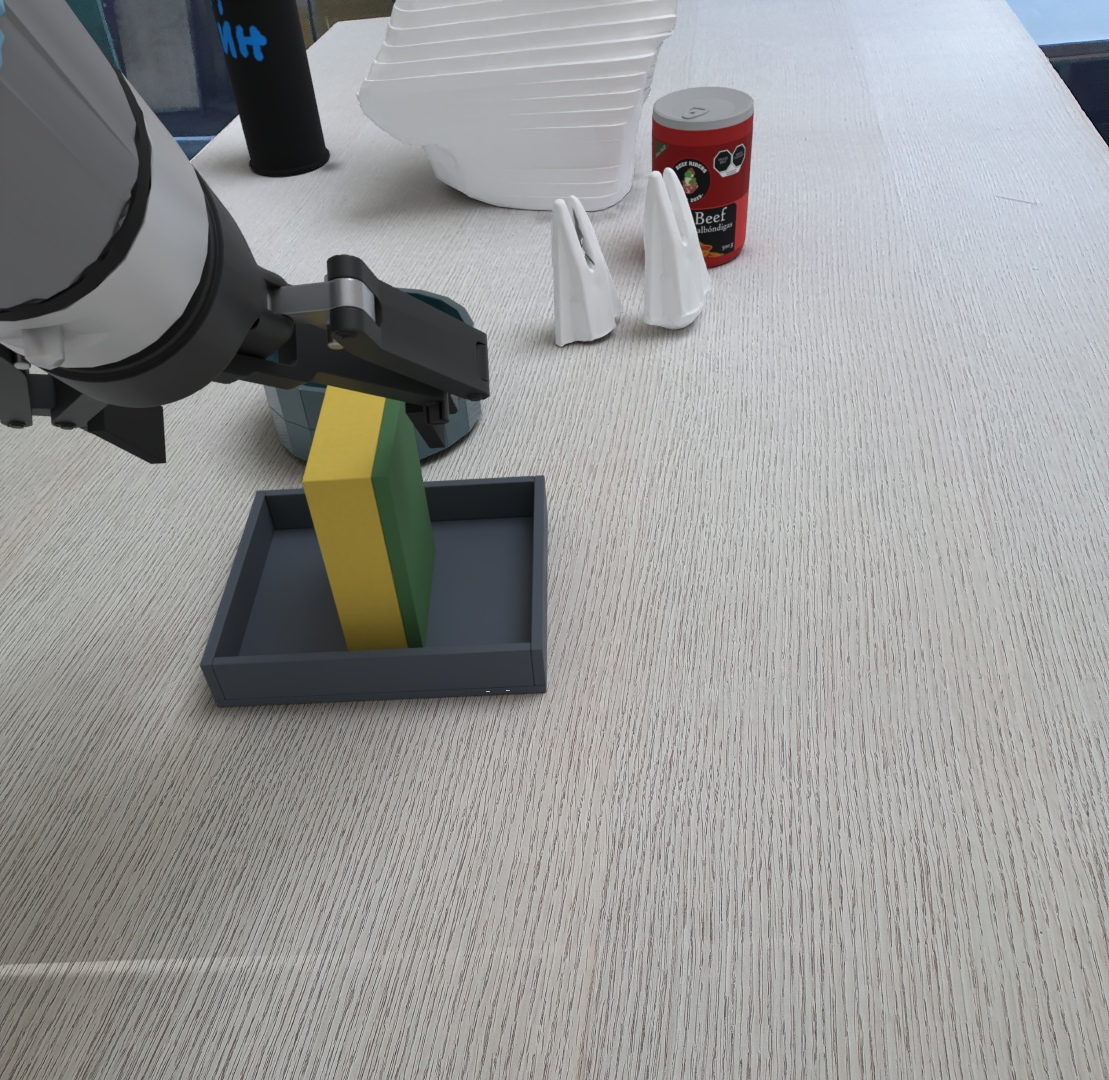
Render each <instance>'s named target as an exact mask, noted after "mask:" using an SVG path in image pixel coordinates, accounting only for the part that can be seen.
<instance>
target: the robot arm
mask: <svg viewBox="0 0 1109 1080" xmlns="http://www.w3.org/2000/svg"><path fill="white" fill-rule="evenodd" d="M397 288H398V287H397ZM397 288H395V286H393V285H391V284H389V283H387V282H385V281H383V280H381V279H379V278H378V277H377V276H376V274H375V273H374V272H373V271H372V270H371V269H370V267H369V266H368V265H367V264H366V263H365V261H364V260H363V259H362V258H360V257H359V256H356V255H352V254H347V253H344V254H343V253H342V254H335V255H332V256H330V257H328V258H327V260H326V274H325V275H324V276H323V281H320V282H319V281H318V282H311V283H303V284H302V283H301V284H291V283H288V282H287V281H286V280H285V279H284V277H282V276H281V275H280V274H278V273H276V272H274V271H272V270H269V269H267V268H265V267H262V266H261V265H259V264H258V263H257V261H256V259H255V257H254V255H253V252H252V249H251V248H250V246H249V244H248V242H247V240H246V238H245V236H244V234H243V232H242V231H241V228H240V227H239V225H238V223H237V222H236V220H235V218H234V217H233V216H232V214H231V212H229V210H228V209H227V208H226V206H225V205H224V203H223V202H222V201H221V200H220V198H219V197H218V196H217V194H216V193H215V192H214V191H213V189H212V188H211V187H210V185H209V184H208V183H207V181H206V180H205V179H204V177H203V176H202V175H201V173H200V172H199V171H198V170H197V168H196V167H195V166H194V165H193V164H192V162H191V161H190V159H189V158H188V156H187V155H186V154H185V152H184V151H183V149H182V148H181V145H179V142H178V141H177V140H176V139H175V138H174V136H173V135H172V133H170V131H169V130H168V129H167V128H166V126H165V125H164V123H162V121H161V120H160V119H159V117H158V116H157V115H156V114H155V113H154V111H153V109H151V107H150V106H149V105H148V103H146V101H145V100H144V98H142V96H141V95H140V94H139V92H138V90H137V89H136V88H135V87H134V86H133V85H132V83H131V82H130V81H129V79H128V78H127V77H126V76H125V74H124V73H123V72H122V70H121V69H119V68H118V67H117V66H116V65H115V64H114V63H113V61H112V60H111V59H110V57H109V56H108V55H107V53H106V52H105V51H104V50H103V49H102V48H101V47H100V45H99V44H98V43H97V42H96V41H95V40H94V39H93V37H92V36H91V35H90V33H89V32H88V30H87V29H86V28H85V26H84V25H83V23H82V22H81V21H80V19H79V18H78V16H77V15H76V14H75V12H74V11H73V10H72V8H71V7H70V5H69V4H68V3H67V1H66V0H0V424H1V425H3V426H5V427H7V428H11V429H14V430H21V429H22V430H23V429H24V428H29V427H33V425H34V421H33V420H34V419H33V417H35V416H36V417H49V418H50V425H51V426H52V427H55V428H59V429H61V430H65V431H71V430H74V429H80V430H83V431H84V432H86V433H88V434H92V435H94V436H96V437H98V438H99V439H101V440H104V441H105V442H108V444H109V443H110V444H111V445H113V446H115V447H117V448H119V449H121V450H122V451H125V452H126V453H128V454H131V455H132V456H134V457H137V458H138V459H140V460H142V461H144V462H146V463H148V464H150V465H159V464H160V465H161V464H167V450H166V449H167V448H166V434H165V433H166V432H165V417H164V406H166V405H169V404H172V403H176V402H179V401H181V400H183V399H186V398H188V397H190V396H193V395H194V394H196V393H197V392H199V391H201V390H202V389H204V388H205V387H207V386H208V385H209V384H211V383H212V382H213V383H217V384H222V385H230V384H233V383H235V382H238V381H243V382H247V383H251V384H257V385H261V386H264V385H266V386H271V387H275V388H280V389H285V390H291V389H293V388H296V387H298V386H301V385H303V384H306V383H308V382H315V383H319V384H324V385H329V386H333V387H338V388H342V389H347V390H352V391H356V392H361V393H365V394H370V395H375V396H379V397H384V398H388V399H393V400H397V401H402V402H405V412H406V414H407V416H408V417H409V419H410V420H411V422H412V423H413V425H414V426H415V428H416V429H417V430H418V432H419V433H420V435H421V436H422V438H423V439H424V441H425V442H426V444H427V445H428V446H429V448H445V430H444V424H446V423H449V414H456V413H457V412H458V397H460V398H463V399H467V400H470V401H480V400H483V401H485V400H487V399H488V398H489V397H490V396H491V391H490V390H491V389H490V366H489V363H490V362H489V347H488V334H487V333H485V332H484V331H482V330H480V329H478V328H476V327H475V326H474V327H475V328H474V327H472V326H470V325H468V324H466V323H464V322H462V321H460V320H458V319H456V318H454V317H452V316H450V315H448V314H446V313H444V312H442V311H440V310H438V309H436V308H434V307H432V306H430V305H429V304H427V303H425V302H423V301H421V300H419V299H417V298H415V297H413V296H411V295H409V294H407V293H405V292H403V291H401V290H399V289H397ZM276 350H278V362H274V361H269V360H266V359H267V358H268V357H269V356H271V355H272V354H273V353H274V352H275V351H276ZM32 366H35V367H37V368H38V369H40V370H42V371H43V372H45V373H30V369H31V367H32ZM457 396H458V397H457Z"/></svg>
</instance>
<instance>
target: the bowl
mask: <svg viewBox="0 0 1109 1080" xmlns="http://www.w3.org/2000/svg"><path fill="white" fill-rule="evenodd" d="M394 287H395V286H394ZM395 288H397V289H399V290H401V291H403V292H405V293H407V294H409V295H411V296H413V297H415V298H417V299H419V300H421V301H423V302H425V303H427V304H429V305H430V306H432V307H434V308H436V309H438V310H440V311H442V312H444V313H446V314H448V315H450V316H452V317H454V318H456V319H458V320H460V321H462V322H464V323H466V324H468V325H470V326H472V327H474V328H476V326H475V322H474V320H473V318H472V317H471V315H470V313H469V312H468V311H467V308H466V307H464V306H463V305H461V304H460V303H458V302H457V301H455V300H454V299H451V298H450V297H449V296H445V295H442V294H440V293H439V294H438V293H435V292H432V291H429V290H424V289H418V288H409V287H408V288H407V287H398V286H397V287H395ZM266 360H269V361H274V362H278V350H276V351H275V352H274V353H273V354H272V355H271V356H269V357H268V358H267V359H266ZM326 388H327V385H324V384H319V383H315V382H308V383H306V384H303V385H301V386H298V387H296V388H293V389H291V390H285V389H280V388H275V387H271V386H266V385H263V389H264V393H265V396H266V399H267V403H268V407H269V410H270V415H271V417H272V420H273V424H274V427H275V431H276V435H277V439H278V441H279V444H281V445H282V446H283V447H284V448H286V450H288V451H289V452H290V453H291V454H292V455H293V456H294V457H296V458H297V459H300V460H303V461H305V462H307V461H308V457H309V453H310V449H311V446H312V442H313V438H314V434H315V430H316V427H317V423H318V419H319V415H320V411H321V407H322V404H323V400H324V396H325V392H326ZM457 397H458V396H457ZM483 401H484V400H480V401H470V400H467V399H463V398H460V397H458V412H457V413H456V414H449V423H446V424H444V430H445V448H429V446H428V445H427V444H426V442H425V441H424V439H423V438H422V436H421V435H420V433H419V432H418V430H417V429H416V428H415V426H414V425H413V427H414V432H415V438H416V443H417V449H418V455H419V460H420V461H421V460H423V459H425V458H427V457H430V456H432V455H434V454H437V453H439V452H441V451H444V450H446V449H448V448H450V447H451V446H452V445H453V444H456V442H457V441H458V442H459V440H460V439H462V438H463V437H464V436H466V435H467V434H468V433H469V432H471V430H472V429H473V428H474V426H475V425H476V423H477V422H478V421H479V419H480V417H481V416H482V413H483V404H484V403H483Z"/></svg>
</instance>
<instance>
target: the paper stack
mask: <svg viewBox="0 0 1109 1080" xmlns="http://www.w3.org/2000/svg"><path fill="white" fill-rule="evenodd" d="M677 13H678V0H395V2H394V3H393V6H392V10H391V14H390V19H389V20H388V22H387V27H386V31H385V35H384V36H385V37H384V39H383V40H382V44H381V46H380V48H379V50H378V53H377V54H376V57H375V58H374V59H373V60H372V62H371V65H370V68H369V70H368V71H369V72H368V74H367V75H366V77H364V79H363V81H362V83H361V85H360V88H359V91H357V92H356V93H355V96H356V99H357V101H358V105H359V107H360V109H361V111H362V114H363V115H364V116H365V117H366V118H368V119H369V120H370V121H371V122H372V123H373V125H375V126H376V127H378V128H379V129H380V130H381V131H383V132H384V133H386V134H387V135H389V136H390V137H392V138H393V139H395V140H397V141H399V142H401V143H402V144H404V145H409V146H414V147H422V150H423V151H424V153H425V156H426V157H427V158H428V159H429V163H430V166H431V169H432V172H433V174H434V175H435V178H436V179H437V180H439V181H440V182H442V183H443V184H446V185H447V186H449V187H451V188H453V189H454V190H456V191H459V192H461V193H463V194H464V195H465V196H467V197H469V198H471V199H474V200H477V201H480V202H482V203H484V204H488V205H491V206H496V207H499V208H500V207H501V208H509V209H519V210H530V211H531V210H533V211H553V205H554V202H555V201H556V200H557V199H562V200H564V202H565V204H566V206H567V208H568V199H569V197H570V196H571V195H572V196H575V197H577V198H578V199H579V201H580V202H581V204H582V206H583V208H584V209H585V211H586V212H596V211H603V210H606V209H608V208H610V207H613V206H615V205H616V204H618V203H619V202H621V200H622V199H624V198H625V196H626V195H628V194H629V192H630V191H631V188H632V186H633V182H634V176H635V175H634V174H635V164H636V163H635V162H636V145H637V136H638V132H639V131H638V130H639V124H640V121H641V117H642V113H643V109H644V106H645V103H646V102H647V100H648V99H649V97H650V95H651V94H652V93H651V91H652V89H653V88H652V84H653V81H654V74H655V71H656V65H657V61H658V56H659V53H660V51H661V48H662V46H663V44H664V41H666V40H667V39H669V38H670V37H672V35H674V33H673V31H674V30H675V28H676V24H677V17H678V16H677V15H675V14H677Z"/></svg>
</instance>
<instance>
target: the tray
mask: <svg viewBox="0 0 1109 1080" xmlns="http://www.w3.org/2000/svg"><path fill="white" fill-rule="evenodd" d="M545 477H546V476H545V475H544V474H540V475H521V476H506V477H505V476H502V477H500V476H499V477H485V478H484V477H483V478H463V479H448V480H429V481H428V480H427V481H423V483H424V488H425V494H426V499H427V505H428V511H429V516H430V522H431V528H432V533H433V539H434V544H435V559H434V568H433V578H432V587H431V596H430V606H429V615H428V625H427V634H426V643H425V647H423V648H402V649H381V650H360V651H348V648H347V644H346V640H345V637H344V633H343V629H342V626H341V622H340V618H339V615H338V611H337V608H336V604H335V600H334V597H333V593H332V589H331V586H330V582H329V578H328V575H327V571H326V568H325V564H324V560H323V557H322V553H321V549H320V546H319V542H318V538H317V535H316V531H315V528H314V524H313V520H312V517H311V513H310V509H309V506H308V502H307V498H306V495H305V491H304V488H303V487H301V488H300V487H299V488H283V489H282V488H281V489H267V490H266V489H261V490H256V491H255V495H254V498H253V501H252V504H251V507H250V509H249V513H248V516H247V519H246V521H245V522H246V523H245V525H244V528H243V531H242V535H241V538H240V539H239V544H238V547H237V550H236V553H235V556H234V560H233V561H232V565H231V569H230V571H229V575H228V578H227V580H226V584H225V587H224V590H223V593H222V596H221V599H220V603H219V604H218V605H219V606H218V609H217V611H216V614H215V617H214V621H213V623H212V626H211V630H210V632H209V636H208V639H207V642H206V645H205V648H204V651H203V654H202V657H201V661H200V663H199V667H200V669H201V672H202V675H203V677H204V679H205V682H206V684H207V686H208V688H209V691H210V693H211V697H212V698H213V700H214V704H215V705H216V708H225V707H226V708H227V707H247V706H248V707H249V706H271V705H272V706H273V705H291V704H293V705H295V704H314V703H317V704H319V703H336V702H337V703H338V702H339V703H340V702H360V701H382V700H403V699H405V700H406V699H426V698H427V699H428V698H448V697H470V696H492V695H493V696H495V695H514V694H534V693H535V694H536V693H537V694H538V693H547V692H548V575H549V573H548V572H549V571H548V569H549V568H548V562H549V561H548V559H549V557H548V556H549V553H548V551H549V550H548V549H549V547H548V545H549V542H548V541H549V540H548V539H549V513H548V500H547V488H546V478H545ZM506 690H510V691H506ZM486 691H490V692H486Z"/></svg>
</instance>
